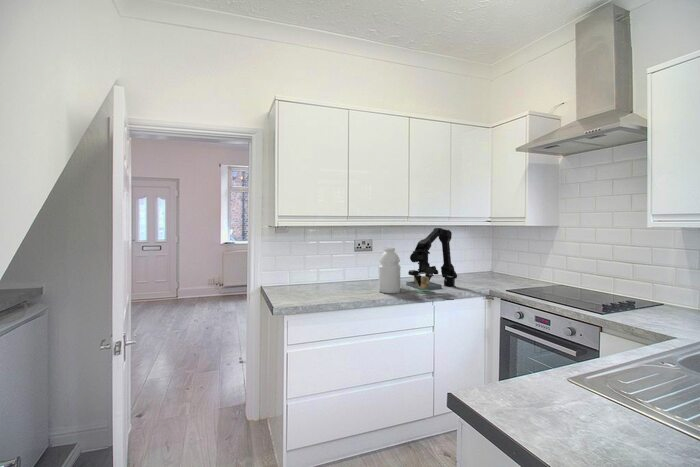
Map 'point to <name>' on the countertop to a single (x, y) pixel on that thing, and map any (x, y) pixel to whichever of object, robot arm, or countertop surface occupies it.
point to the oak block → (424, 283)
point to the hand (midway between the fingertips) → (423, 285)
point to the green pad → (423, 291)
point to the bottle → (389, 272)
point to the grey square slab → (431, 285)
